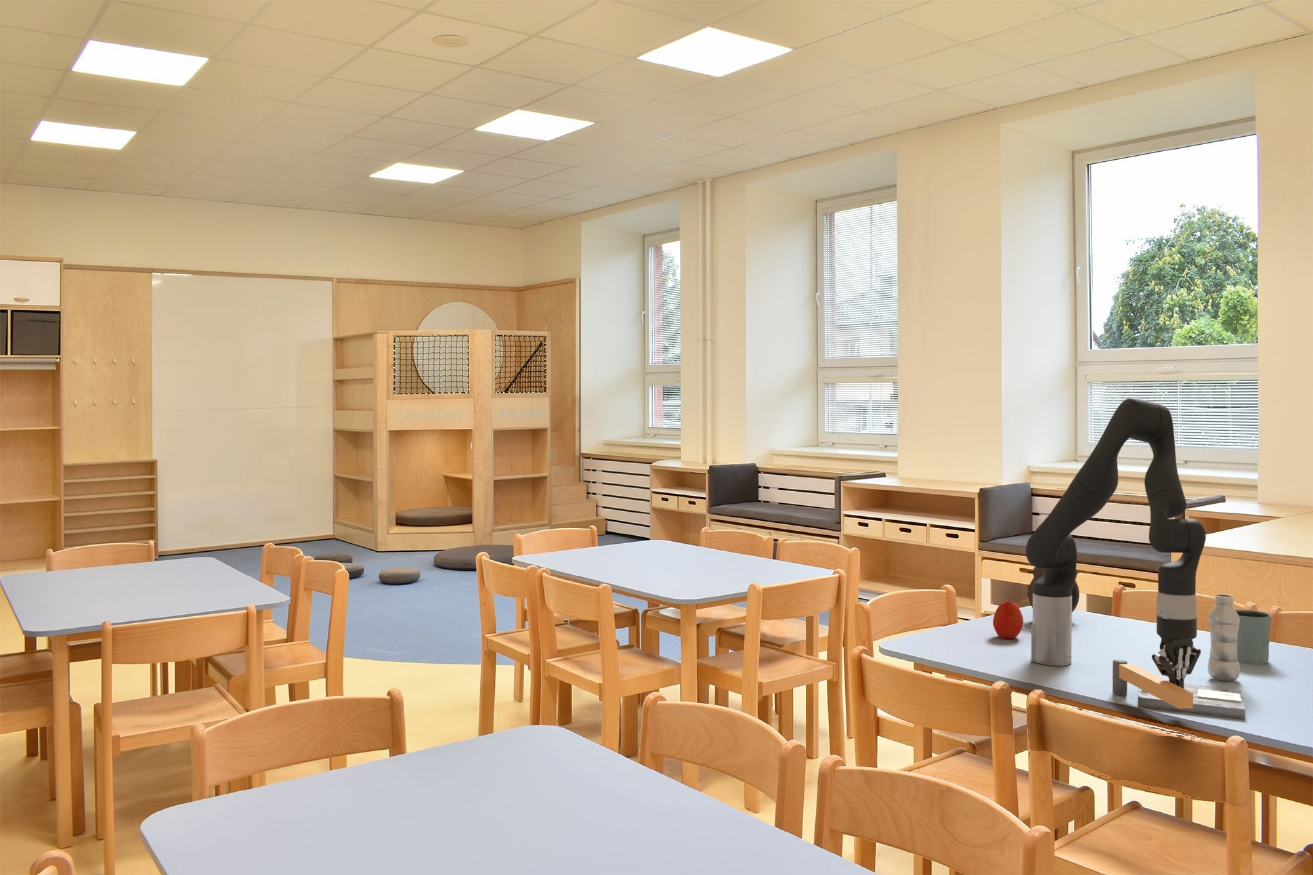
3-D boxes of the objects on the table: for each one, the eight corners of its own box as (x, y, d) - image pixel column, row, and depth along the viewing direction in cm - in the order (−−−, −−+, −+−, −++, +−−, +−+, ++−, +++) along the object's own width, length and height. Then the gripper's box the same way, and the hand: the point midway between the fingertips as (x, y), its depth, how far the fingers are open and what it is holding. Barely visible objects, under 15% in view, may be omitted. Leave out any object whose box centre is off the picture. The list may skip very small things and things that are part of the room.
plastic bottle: (1244, 684, 235) (1245, 598, 235) (1212, 682, 237) (1213, 597, 236) (1234, 676, 242) (1235, 593, 241) (1203, 675, 243) (1204, 592, 242)
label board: (1137, 706, 219) (1138, 695, 219) (1140, 687, 233) (1141, 677, 233) (1244, 719, 210) (1245, 707, 209) (1241, 698, 224) (1241, 688, 224)
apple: (1028, 641, 280) (1028, 602, 279) (998, 641, 280) (998, 602, 279) (1018, 634, 288) (1018, 596, 287) (988, 634, 288) (989, 596, 288)
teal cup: (1259, 667, 251) (1260, 618, 250) (1217, 658, 259) (1217, 612, 258) (1278, 660, 257) (1278, 613, 256) (1236, 653, 265) (1236, 607, 264)
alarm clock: (1041, 624, 300) (1041, 557, 299) (1026, 619, 307) (1026, 554, 306) (1083, 621, 304) (1083, 555, 303) (1067, 617, 311) (1067, 552, 310)
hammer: (1109, 691, 229) (1110, 659, 229) (1122, 691, 229) (1123, 659, 229) (1178, 729, 202) (1178, 693, 202) (1192, 728, 202) (1193, 693, 202)
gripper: (1181, 607, 218) (1180, 686, 219) (1139, 614, 212) (1139, 695, 213) (1213, 613, 212) (1213, 695, 212) (1171, 621, 206) (1171, 705, 206)
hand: (1176, 695), depth 213 cm, fingers closed
